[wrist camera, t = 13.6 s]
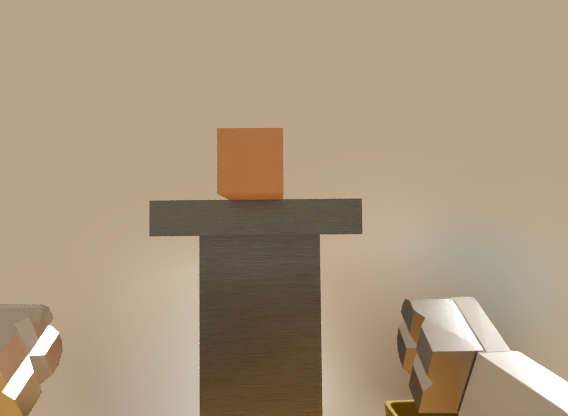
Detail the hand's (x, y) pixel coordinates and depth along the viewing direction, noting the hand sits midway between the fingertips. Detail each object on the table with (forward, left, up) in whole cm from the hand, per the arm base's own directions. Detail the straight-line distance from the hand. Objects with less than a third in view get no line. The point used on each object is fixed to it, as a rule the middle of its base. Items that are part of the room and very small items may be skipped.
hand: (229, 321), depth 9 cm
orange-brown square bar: (-13, -16, +4) cm, 21 cm away
